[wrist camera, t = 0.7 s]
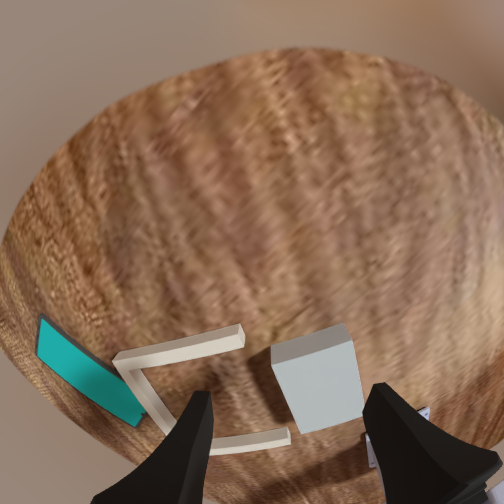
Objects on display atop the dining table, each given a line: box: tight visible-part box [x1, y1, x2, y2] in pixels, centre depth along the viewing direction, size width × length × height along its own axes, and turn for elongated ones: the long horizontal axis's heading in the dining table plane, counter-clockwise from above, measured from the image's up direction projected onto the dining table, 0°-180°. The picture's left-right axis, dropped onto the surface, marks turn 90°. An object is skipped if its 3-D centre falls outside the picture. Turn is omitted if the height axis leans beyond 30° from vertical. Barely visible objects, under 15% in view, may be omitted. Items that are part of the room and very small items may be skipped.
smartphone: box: [35, 313, 148, 428], centre depth 24 cm, size 7×1×15 cm
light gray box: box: [271, 323, 364, 434], centre depth 21 cm, size 9×6×3 cm, turn 20°
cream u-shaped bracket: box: [112, 323, 291, 455], centre depth 22 cm, size 14×12×2 cm
